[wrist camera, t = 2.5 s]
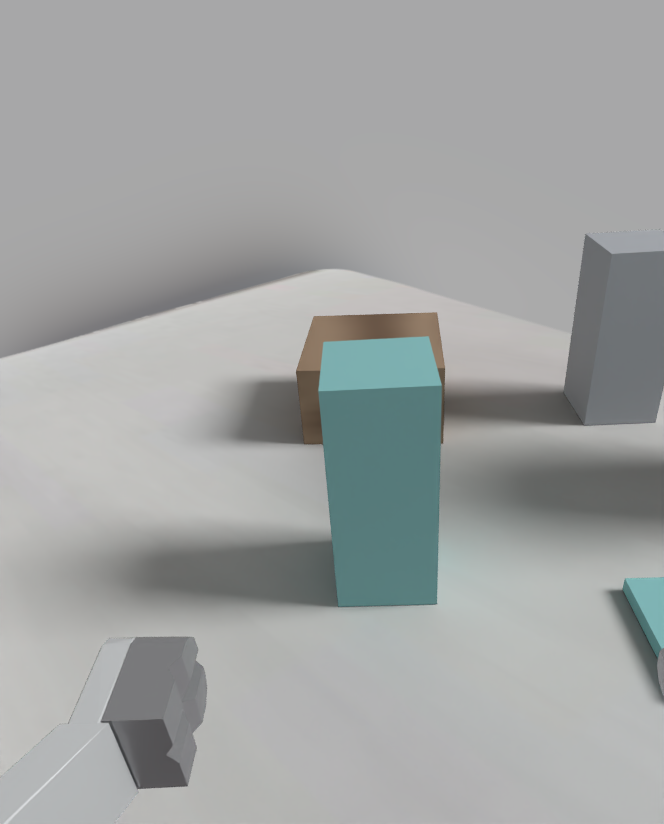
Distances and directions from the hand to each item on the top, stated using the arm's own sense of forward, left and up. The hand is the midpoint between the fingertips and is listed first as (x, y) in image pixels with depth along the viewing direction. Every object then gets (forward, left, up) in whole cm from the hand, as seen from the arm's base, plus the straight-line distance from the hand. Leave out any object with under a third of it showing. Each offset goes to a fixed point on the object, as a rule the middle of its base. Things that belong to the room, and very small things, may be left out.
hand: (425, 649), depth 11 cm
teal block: (0, +12, -10) cm, 16 cm away
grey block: (+14, +25, -10) cm, 31 cm away
